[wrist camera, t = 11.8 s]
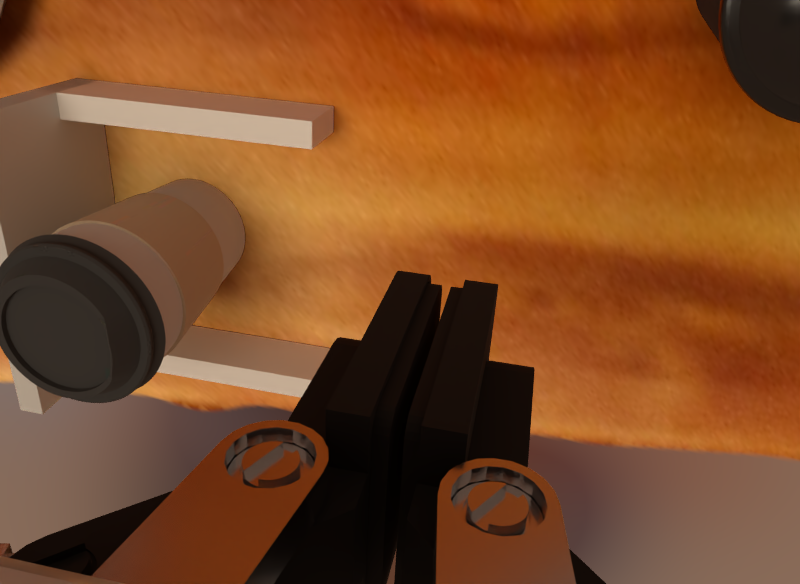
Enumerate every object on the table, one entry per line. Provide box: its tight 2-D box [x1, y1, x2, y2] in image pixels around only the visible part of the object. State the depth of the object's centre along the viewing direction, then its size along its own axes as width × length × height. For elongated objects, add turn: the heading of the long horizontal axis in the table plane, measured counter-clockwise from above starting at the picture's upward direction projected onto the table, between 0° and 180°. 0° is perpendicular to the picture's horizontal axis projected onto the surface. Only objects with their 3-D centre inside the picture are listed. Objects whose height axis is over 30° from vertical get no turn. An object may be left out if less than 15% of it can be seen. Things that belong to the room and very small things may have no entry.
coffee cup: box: [0, 179, 245, 403], centre depth 39 cm, size 9×9×15 cm
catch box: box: [0, 78, 334, 414], centre depth 41 cm, size 16×18×10 cm
